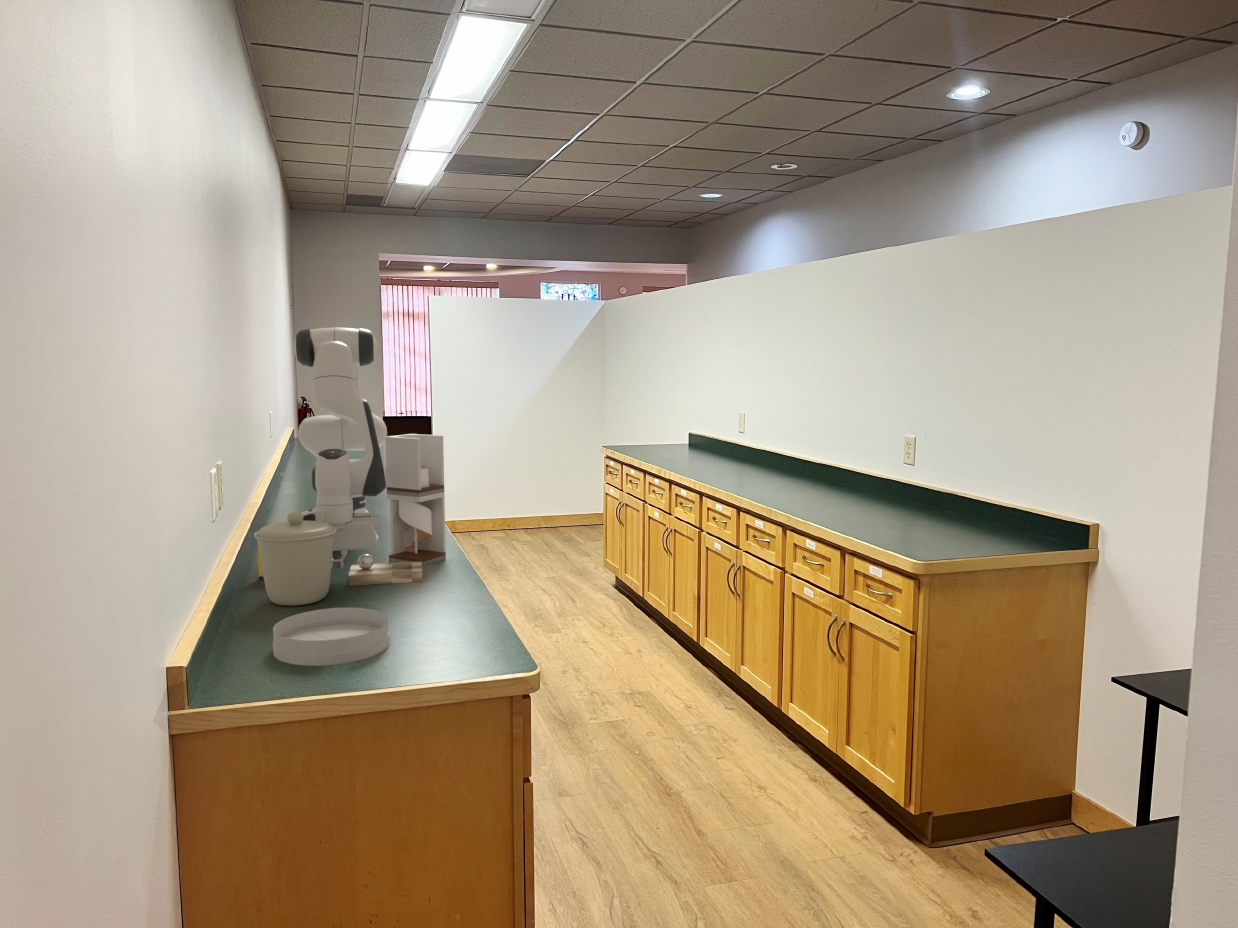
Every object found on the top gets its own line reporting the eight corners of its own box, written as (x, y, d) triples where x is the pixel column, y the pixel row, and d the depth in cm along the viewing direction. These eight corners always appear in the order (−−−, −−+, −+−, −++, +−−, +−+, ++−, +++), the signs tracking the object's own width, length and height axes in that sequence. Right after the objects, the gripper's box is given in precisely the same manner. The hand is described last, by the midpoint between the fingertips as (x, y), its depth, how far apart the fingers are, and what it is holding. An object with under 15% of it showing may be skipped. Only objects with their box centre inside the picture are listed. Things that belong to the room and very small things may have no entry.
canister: (252, 613, 196) (247, 520, 193) (262, 592, 213) (258, 506, 210) (337, 608, 200) (334, 516, 198) (340, 587, 218) (337, 503, 215)
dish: (412, 646, 175) (411, 621, 174) (309, 675, 159) (308, 649, 158) (352, 623, 190) (351, 601, 189) (252, 648, 173) (250, 624, 173)
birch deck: (351, 574, 231) (351, 564, 231) (421, 570, 235) (421, 561, 235) (348, 585, 220) (348, 575, 219) (422, 581, 224) (422, 571, 223)
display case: (388, 562, 245) (385, 436, 240) (414, 554, 254) (411, 433, 250) (420, 566, 239) (417, 438, 235) (445, 558, 249) (443, 435, 244)
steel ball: (358, 567, 228) (357, 552, 227) (374, 567, 228) (373, 551, 228) (357, 571, 224) (356, 556, 223) (373, 570, 225) (373, 555, 224)
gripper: (378, 510, 228) (379, 562, 230) (294, 513, 223) (296, 566, 225) (377, 514, 222) (378, 568, 224) (291, 517, 217) (293, 572, 219)
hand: (337, 567), depth 224 cm, fingers closed
